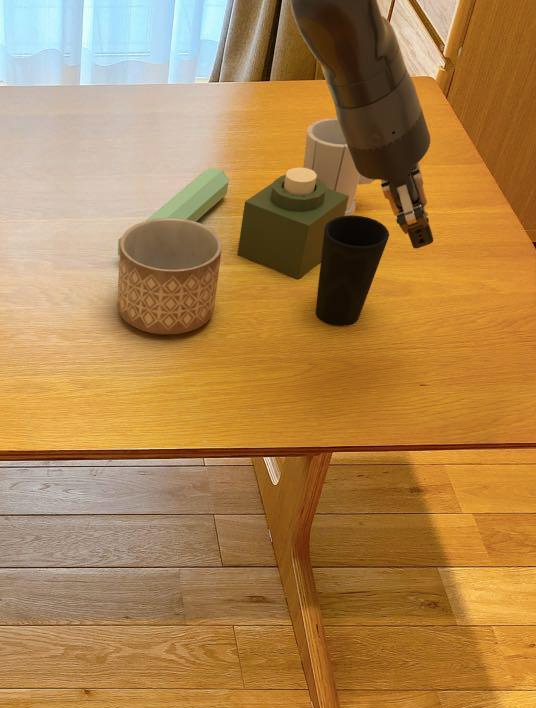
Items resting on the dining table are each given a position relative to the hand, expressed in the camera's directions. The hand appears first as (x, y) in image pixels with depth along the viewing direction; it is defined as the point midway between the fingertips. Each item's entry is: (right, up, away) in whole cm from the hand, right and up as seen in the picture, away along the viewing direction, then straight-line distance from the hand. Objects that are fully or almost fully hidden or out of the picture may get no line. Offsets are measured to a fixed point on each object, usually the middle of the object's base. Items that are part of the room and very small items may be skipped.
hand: (423, 241), depth 114 cm
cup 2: (-3, -4, +19) cm, 20 cm away
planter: (-26, -4, +21) cm, 33 cm away
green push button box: (-7, +7, +30) cm, 31 cm away
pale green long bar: (-21, +12, +35) cm, 43 cm away
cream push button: (-7, +14, +23) cm, 28 cm away
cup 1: (+2, +16, +37) cm, 41 cm away
